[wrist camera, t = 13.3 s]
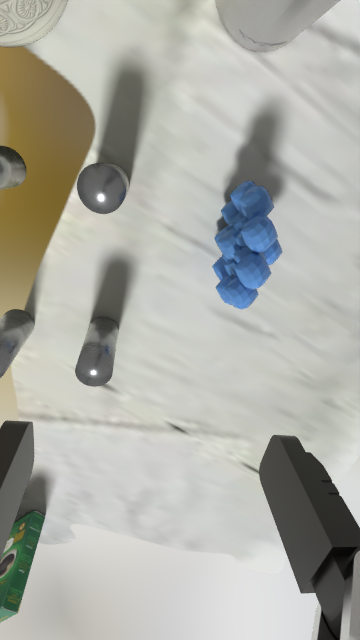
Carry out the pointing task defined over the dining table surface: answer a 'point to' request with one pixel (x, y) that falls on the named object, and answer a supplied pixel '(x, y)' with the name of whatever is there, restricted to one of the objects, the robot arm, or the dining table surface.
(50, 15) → the jar
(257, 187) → the grapes
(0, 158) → the spacer posts
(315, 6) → the robot arm
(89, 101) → the dining table surface
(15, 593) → the coffee box
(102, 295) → the dining table surface
